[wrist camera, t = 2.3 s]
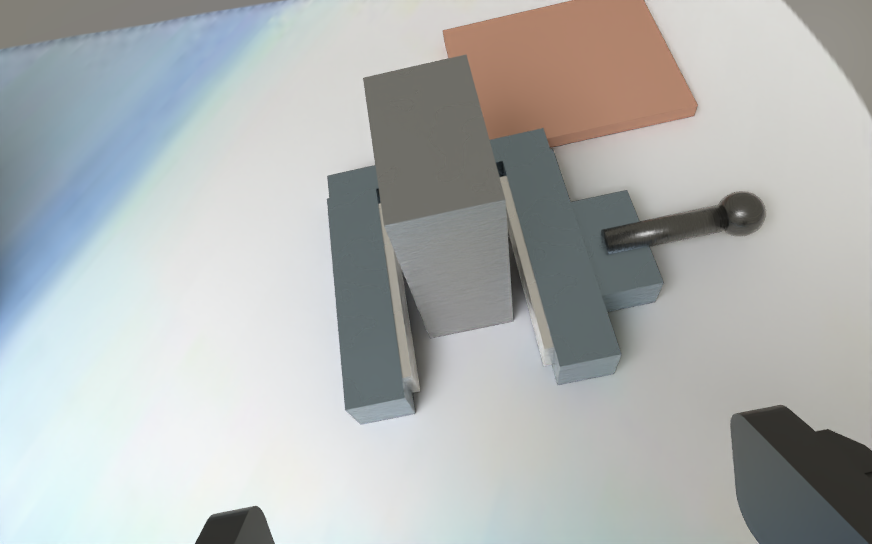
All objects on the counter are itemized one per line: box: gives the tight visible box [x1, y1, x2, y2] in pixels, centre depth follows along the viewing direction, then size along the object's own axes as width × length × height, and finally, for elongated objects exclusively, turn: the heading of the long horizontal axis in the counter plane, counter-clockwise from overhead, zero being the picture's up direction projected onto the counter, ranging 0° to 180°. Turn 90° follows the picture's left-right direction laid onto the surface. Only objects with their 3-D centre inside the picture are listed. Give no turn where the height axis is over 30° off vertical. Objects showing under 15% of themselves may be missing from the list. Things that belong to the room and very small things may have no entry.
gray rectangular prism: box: [363, 54, 513, 338], centre depth 25 cm, size 4×7×10 cm, turn 9°
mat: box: [443, 0, 698, 147], centre depth 34 cm, size 12×10×1 cm
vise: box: [327, 128, 766, 424], centre depth 28 cm, size 20×13×3 cm, turn 99°
